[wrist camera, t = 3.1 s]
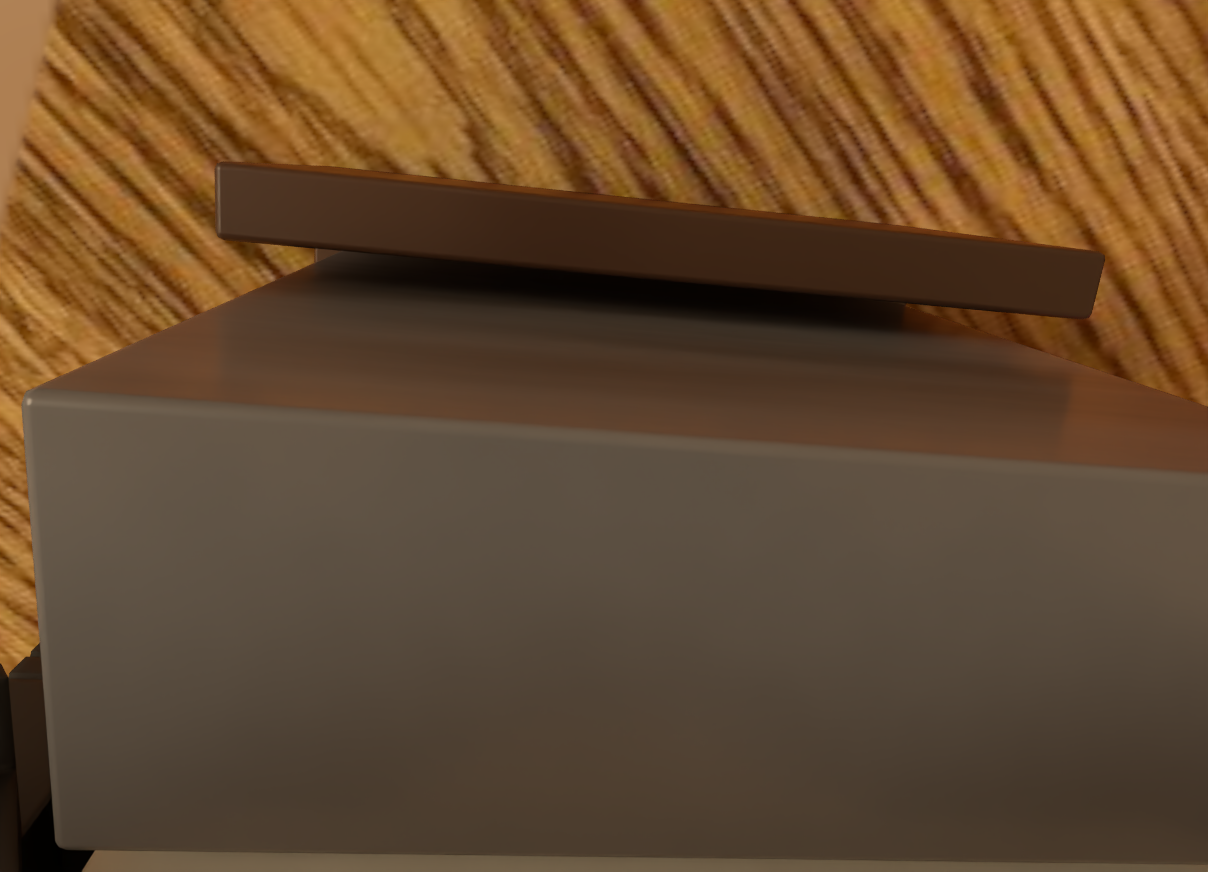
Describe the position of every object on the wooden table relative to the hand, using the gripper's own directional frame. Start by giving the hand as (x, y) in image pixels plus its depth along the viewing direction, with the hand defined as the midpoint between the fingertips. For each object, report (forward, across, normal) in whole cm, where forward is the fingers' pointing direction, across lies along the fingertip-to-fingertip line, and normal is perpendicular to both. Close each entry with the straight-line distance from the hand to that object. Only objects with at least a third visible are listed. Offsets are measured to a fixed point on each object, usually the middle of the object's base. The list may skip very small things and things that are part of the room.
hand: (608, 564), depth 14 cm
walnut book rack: (+3, 0, 0) cm, 3 cm away
